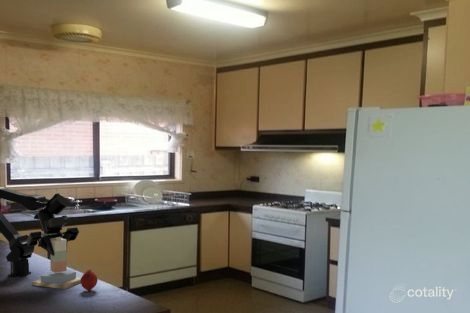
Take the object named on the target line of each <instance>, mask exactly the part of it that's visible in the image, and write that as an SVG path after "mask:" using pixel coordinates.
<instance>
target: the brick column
mask: <svg viewBox="0 0 470 313" xmlns="http://www.w3.org/2000/svg"><path fill="white" fill-rule="evenodd" d="M50 243H51V245H52V248H53V250H54V254H55V255H54V256H52V255H51V254H50V253H49V254H50V272H54V273H57V272H63V271H68V270H67V269H68V268H67V261H68V260H67V259H68V258H67V254H68V253H67V252H68V242H67V240H66V239H63V238H61V237H56V239H50Z"/></svg>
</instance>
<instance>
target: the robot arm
mask: <svg viewBox="0 0 470 313" xmlns="http://www.w3.org/2000/svg"><path fill="white" fill-rule="evenodd" d="M2 199H3V200H7V201H10V202H12V203H17V204H19V205H21V206H22V207H23V208H24V209H26V210H28V211H31V212H34V211H38V212H36V213H35V215H34V216H33V220H38V221H39V222H40V226H41V230H40V231H39V230H38V231H31V232H30V233H29V235H28V234H24V235H21V234H20V233H19V232H18V230H17V229H16V228H15V226H13V225H12V223H11V222H10V221H9V220H8V219H7V217H6V216H5V215H4V214H3V213H2V212H1V211H0V234H2V235H3V237H4V238H5V240H6V241H7V242H8V248H9V250H10V251H9V253H8V254H6V255H5V258H6V262H8V263H9V262H10V265H9V266H10V273H7V276H9V277H18V278H21V277H23V276H26V275H29V274H32V271H30V263H29V259H31V258H32V255H33V253H34V251H35V246H37V247H39V248H41V249H44V250H45V251H46V252H48V253H49V254H51V255H52V256H54V255H55V254H54V250H53V248H52V245H51V243H50V239H56V237H61V238H63V239H66V240H67V243H68V242H72V241H76V240H77V237H78V235H79V233H80V230H79V228H78V226H77V227H76V226H73V227H67V228H66V230H65V231H62V230H63V227H64V226H65V225H67V224H68V223H69V218H68V216H67V214H66V215H61V216H58V215H60V214H61V213H62V212H63V211H65V210H66V209H67V208H68V207H69V205H70V202H69V200H68V199H67V198H66V197H65V196H63V195H61V193H54V195H52V197H51V198H50V199H49V198H46V196H45V195H43V194H27V193H23V192H19V191H17V190H13V189H9V188H5V187H4V186H0V201H1V200H2ZM55 215H56V216H57V217H56V216H55ZM42 232H43V233H42Z"/></svg>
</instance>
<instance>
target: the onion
mask: <svg viewBox="0 0 470 313" xmlns="http://www.w3.org/2000/svg"><path fill="white" fill-rule="evenodd" d="M80 277H81V282H80V285H81V287H82V288H83V289H85V290H86V291H88V292H90V291H92V290H93V289H94V288H95V287H96V285H97V283H98V276H97V274H96V273H95V272H93V271H92V268H88V269H87V270H86V272H84V273H83V274H82V275H81V276H80Z"/></svg>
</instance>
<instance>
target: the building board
mask: <svg viewBox="0 0 470 313" xmlns="http://www.w3.org/2000/svg"><path fill="white" fill-rule="evenodd" d="M81 277H82V276H80V277H79V276H76V278H74V279H72V280H70V281H67V282H65V283H62V284H54V283H45V282H41V278H39V279H37V280H34V281H32V282H31V284H32V286H37V287H45V288H55V289H60V290H61V289H63V290H66V289H69V288H71V287H74V286H76V285H77V284H81Z"/></svg>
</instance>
